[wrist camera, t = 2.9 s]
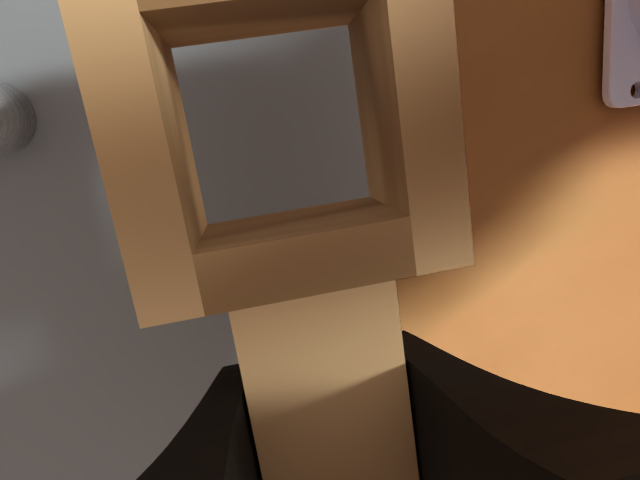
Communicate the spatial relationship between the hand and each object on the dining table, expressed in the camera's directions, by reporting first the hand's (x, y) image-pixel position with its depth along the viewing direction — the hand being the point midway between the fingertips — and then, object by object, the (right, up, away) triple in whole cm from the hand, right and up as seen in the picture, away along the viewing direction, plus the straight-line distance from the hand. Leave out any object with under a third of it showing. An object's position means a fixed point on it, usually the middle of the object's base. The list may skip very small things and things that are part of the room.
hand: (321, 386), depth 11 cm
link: (0, +2, 0) cm, 2 cm away
